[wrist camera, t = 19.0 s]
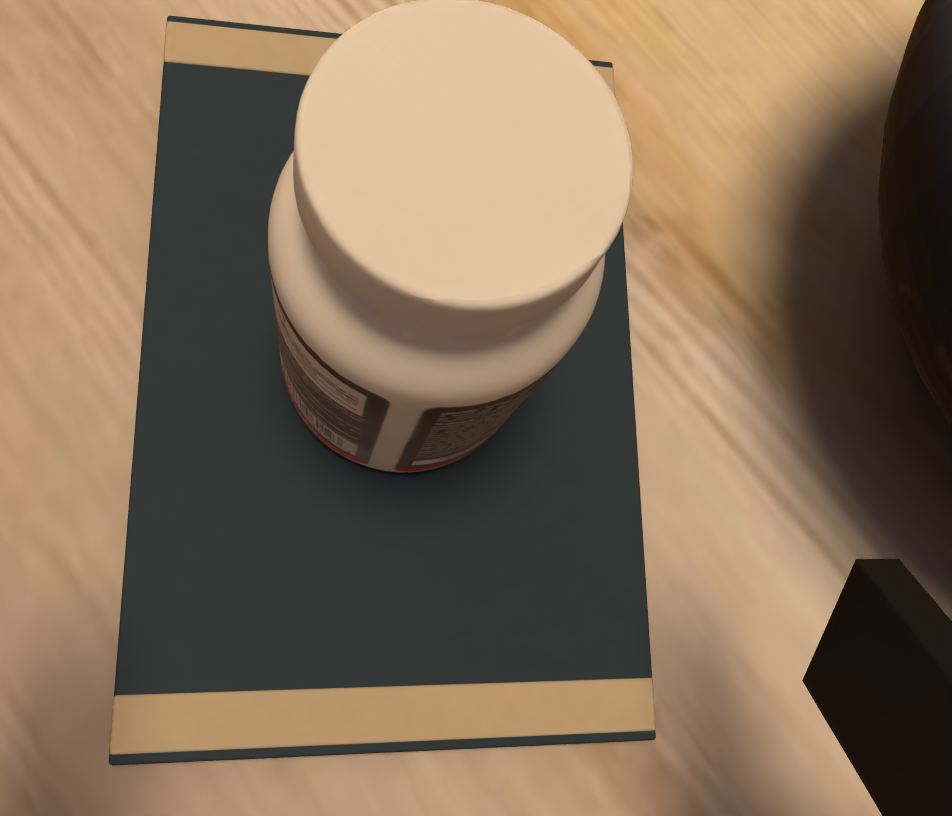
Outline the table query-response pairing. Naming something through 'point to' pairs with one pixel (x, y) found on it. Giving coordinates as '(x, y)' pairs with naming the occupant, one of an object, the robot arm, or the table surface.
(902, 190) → the decorative sphere
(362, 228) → the pill bottle
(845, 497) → the table surface
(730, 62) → the table surface
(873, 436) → the table surface
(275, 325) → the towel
